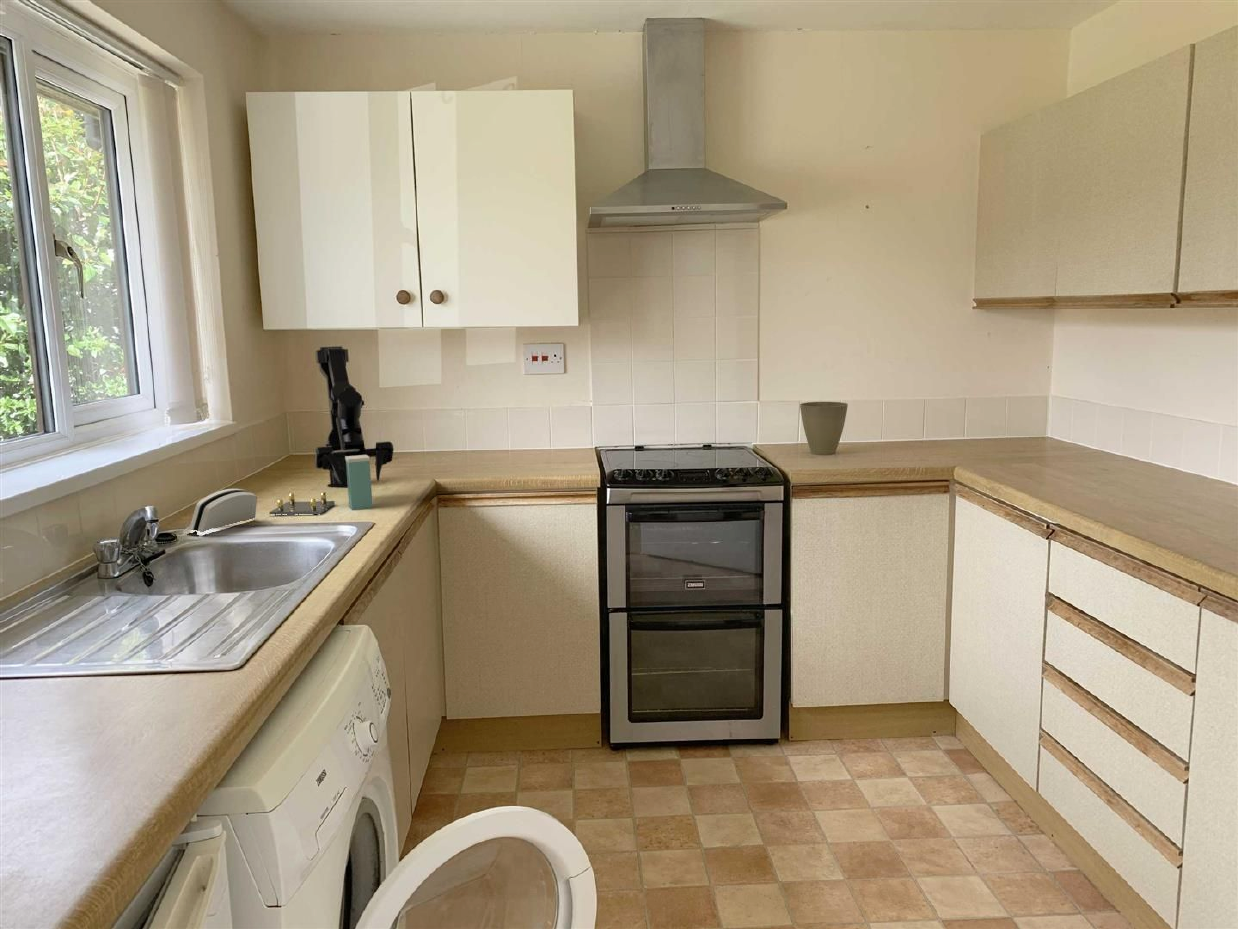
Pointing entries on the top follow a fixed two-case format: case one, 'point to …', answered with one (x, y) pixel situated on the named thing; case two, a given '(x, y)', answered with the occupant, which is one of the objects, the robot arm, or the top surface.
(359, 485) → the tea tin
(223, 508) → the grey napkin holder
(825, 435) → the plant pot
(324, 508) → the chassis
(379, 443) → the robot arm
